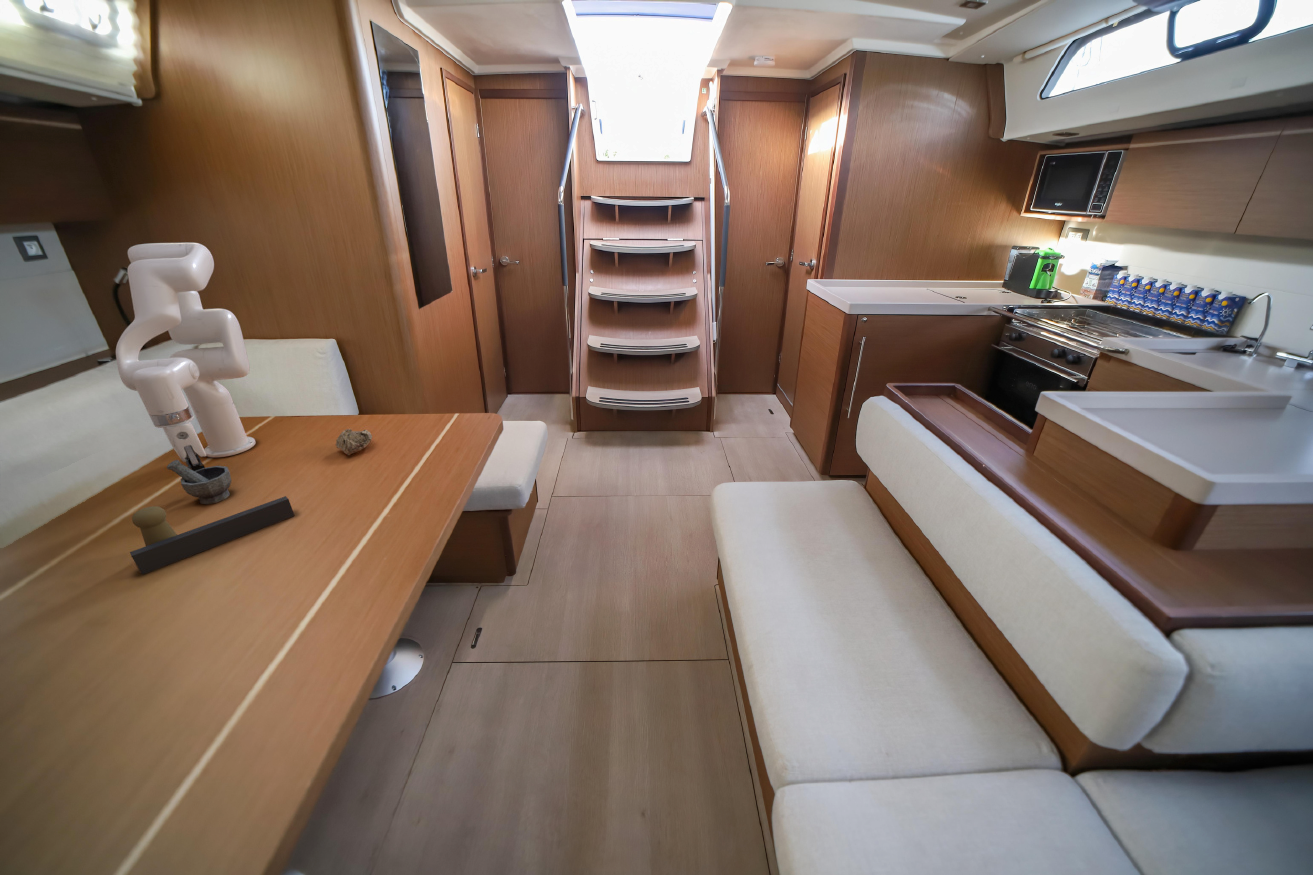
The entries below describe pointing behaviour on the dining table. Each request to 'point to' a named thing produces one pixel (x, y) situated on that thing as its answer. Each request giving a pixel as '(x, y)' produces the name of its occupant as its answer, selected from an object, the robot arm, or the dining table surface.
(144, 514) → the cork
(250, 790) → the dining table surface
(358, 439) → the rough grey rock
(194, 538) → the backstop rail
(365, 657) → the dining table surface
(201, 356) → the robot arm
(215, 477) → the mortar and pestle
